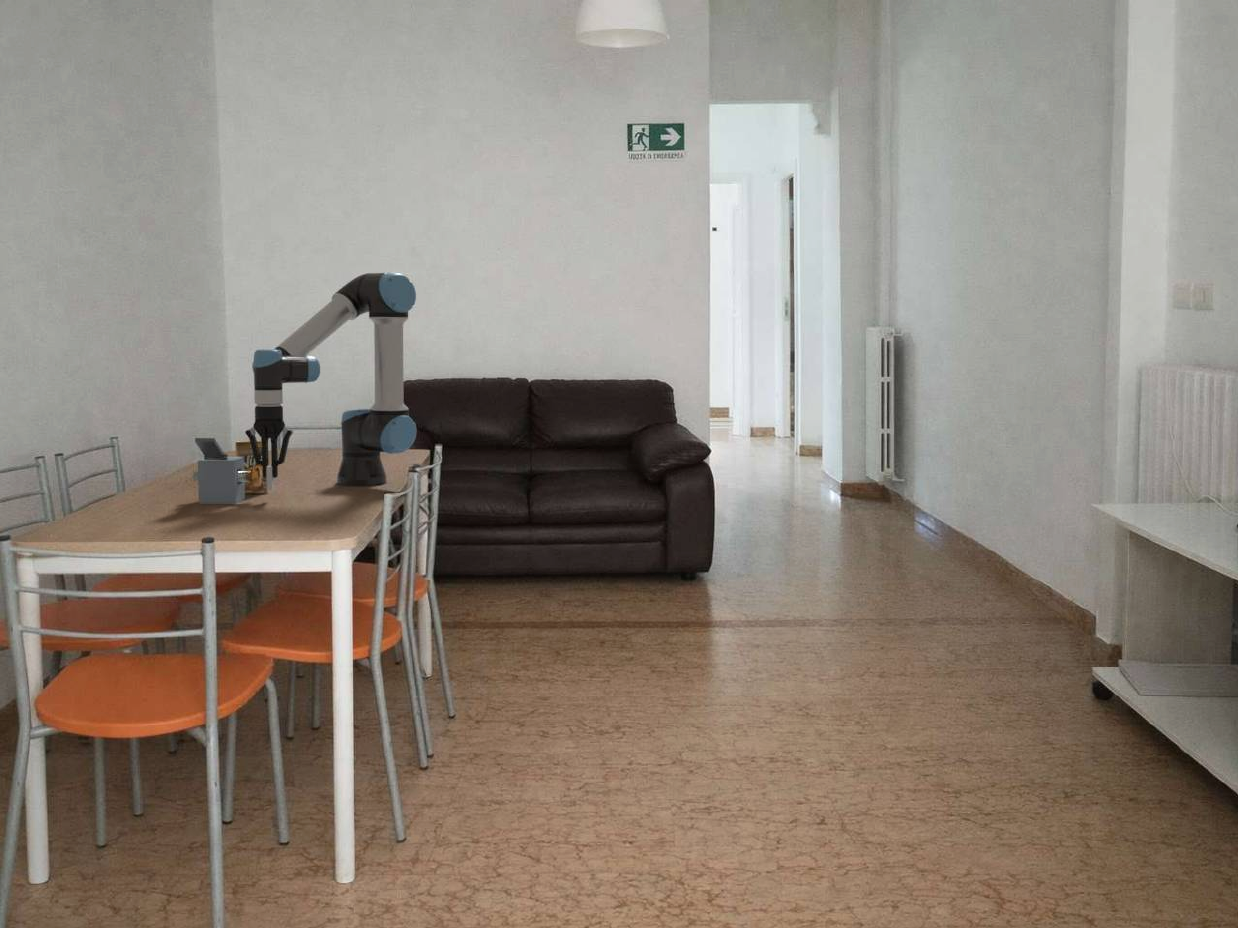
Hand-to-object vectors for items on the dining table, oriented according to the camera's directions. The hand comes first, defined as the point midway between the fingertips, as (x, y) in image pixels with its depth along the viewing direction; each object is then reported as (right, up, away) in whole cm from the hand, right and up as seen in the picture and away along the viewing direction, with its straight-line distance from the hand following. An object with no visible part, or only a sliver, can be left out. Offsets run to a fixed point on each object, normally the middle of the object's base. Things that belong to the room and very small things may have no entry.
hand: (270, 489), depth 353 cm
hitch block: (-14, -3, 0) cm, 14 cm away
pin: (-12, +1, 0) cm, 12 cm away
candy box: (-10, -2, +17) cm, 20 cm away
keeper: (-13, +10, -12) cm, 20 cm away
